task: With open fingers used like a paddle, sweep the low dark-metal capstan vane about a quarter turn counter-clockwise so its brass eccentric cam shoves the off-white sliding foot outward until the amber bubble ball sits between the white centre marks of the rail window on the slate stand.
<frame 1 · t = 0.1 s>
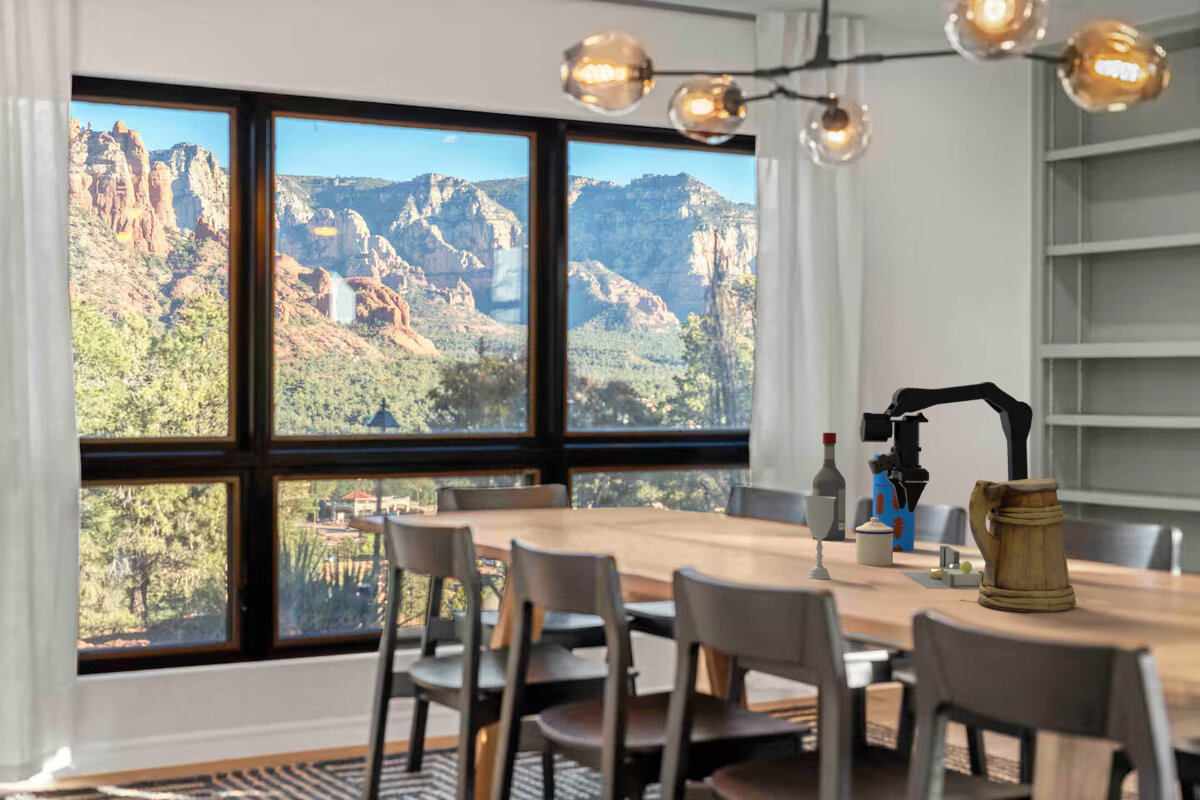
hand: (906, 510, 322), 15 cm above the table, fingers open, 9 cm apart
chalice: (819, 578, 315), on the table
thermos: (893, 549, 373), on the table
tankard: (1016, 607, 274), on the table
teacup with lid: (871, 566, 337), on the table
cam capstan: (944, 562, 315), point 4 cm above the table, hinge at 0.0°
liquor: (828, 539, 398), on the table
level stand: (959, 582, 309), on the table
cam foot: (962, 571, 301), point 3 cm above the table, slide at 0.0 cm
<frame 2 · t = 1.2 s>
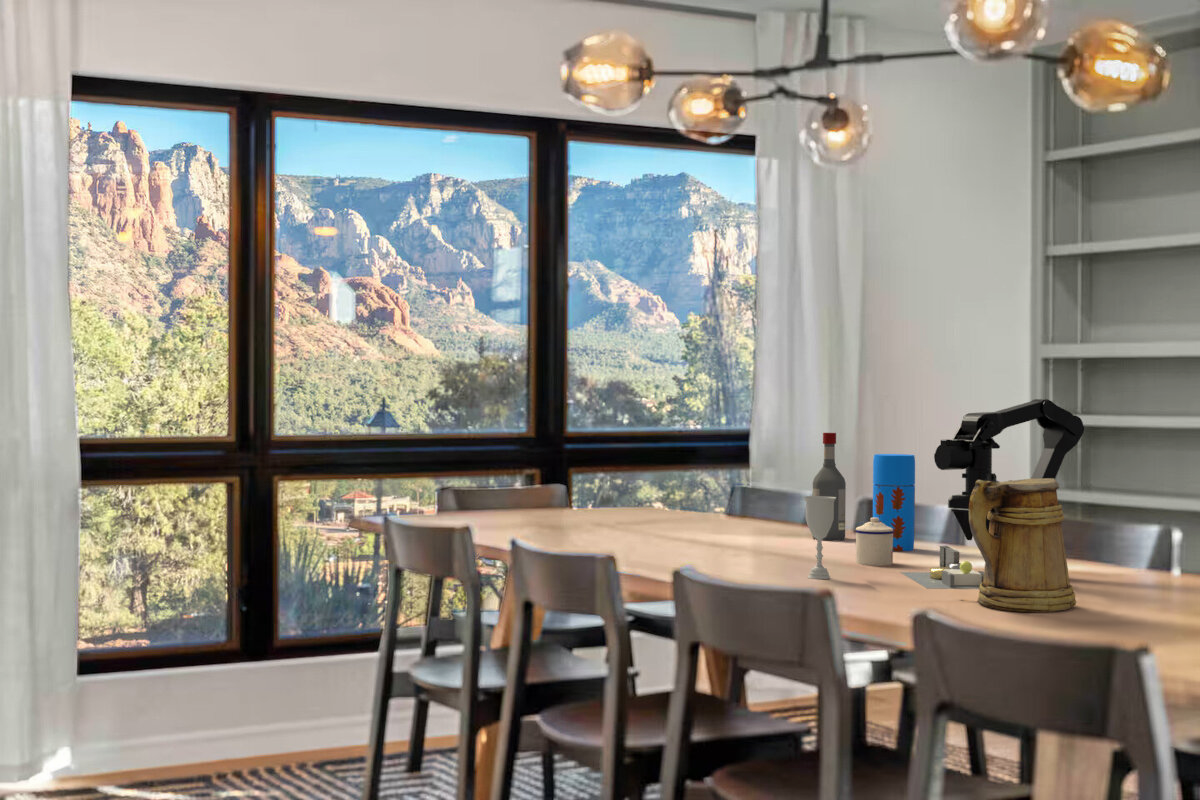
hand: (978, 538, 316), 9 cm above the table, fingers open, 9 cm apart
nothing on the table moved.
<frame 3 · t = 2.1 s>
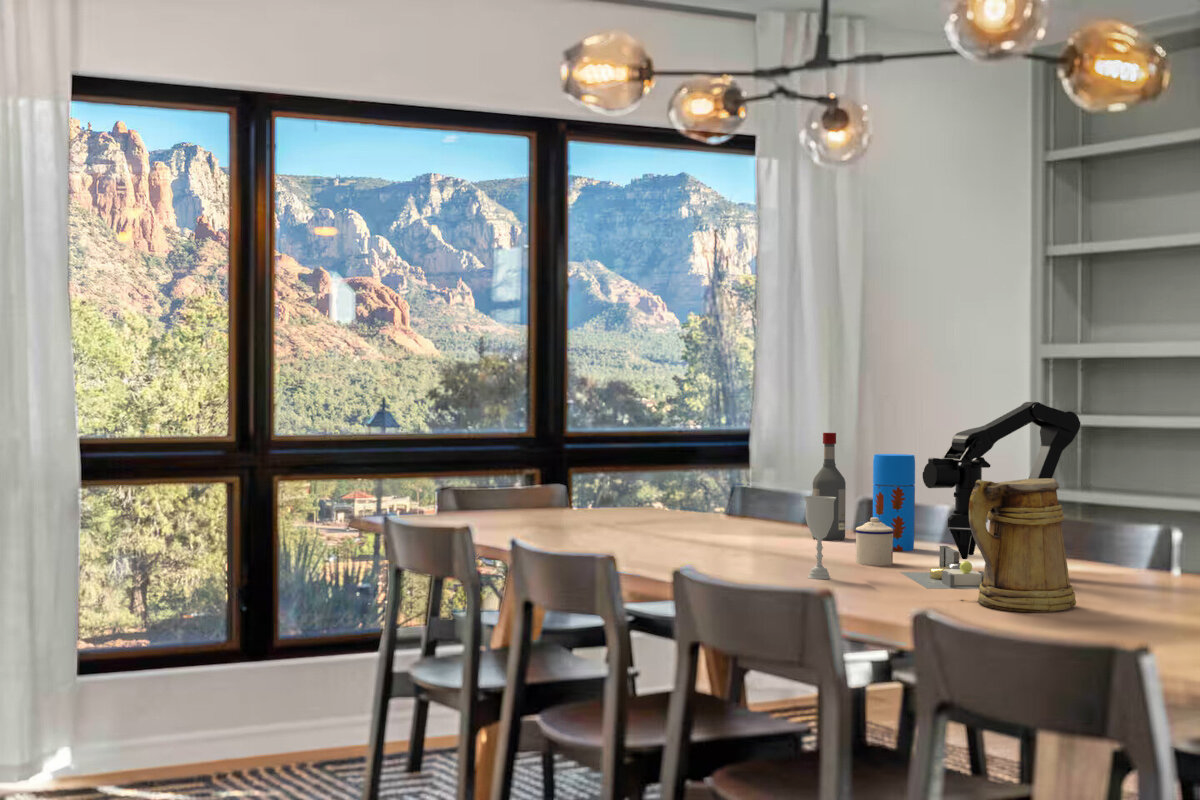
hand: (967, 557, 317), 5 cm above the table, fingers open, 9 cm apart
cam capstan: (944, 562, 315), point 4 cm above the table, hinge at 0.1°, touching gripper
everything else where it was.
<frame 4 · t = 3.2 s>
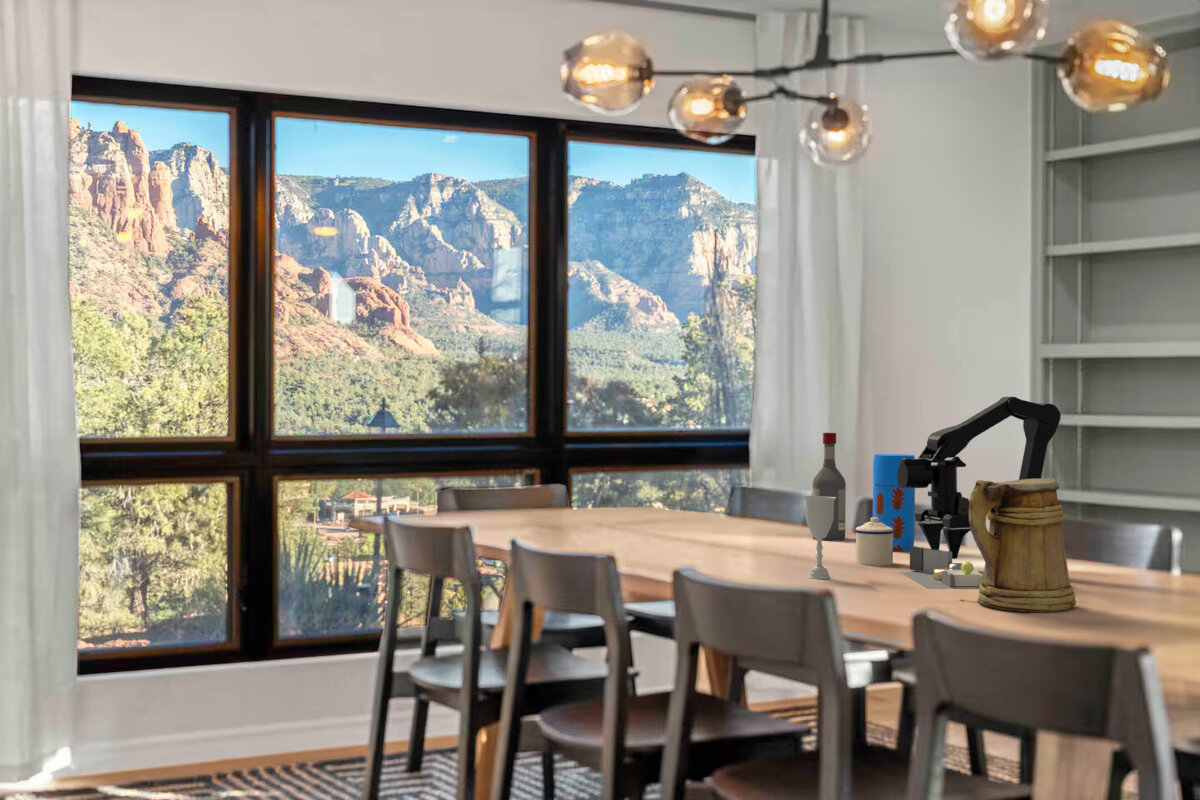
hand: (944, 556, 318), 5 cm above the table, fingers open, 9 cm apart
cam capstan: (934, 563, 313), point 4 cm above the table, hinge at 30.3°, touching gripper
cam foot: (964, 571, 300), point 3 cm above the table, slide at 1.1 cm
everything else where it was.
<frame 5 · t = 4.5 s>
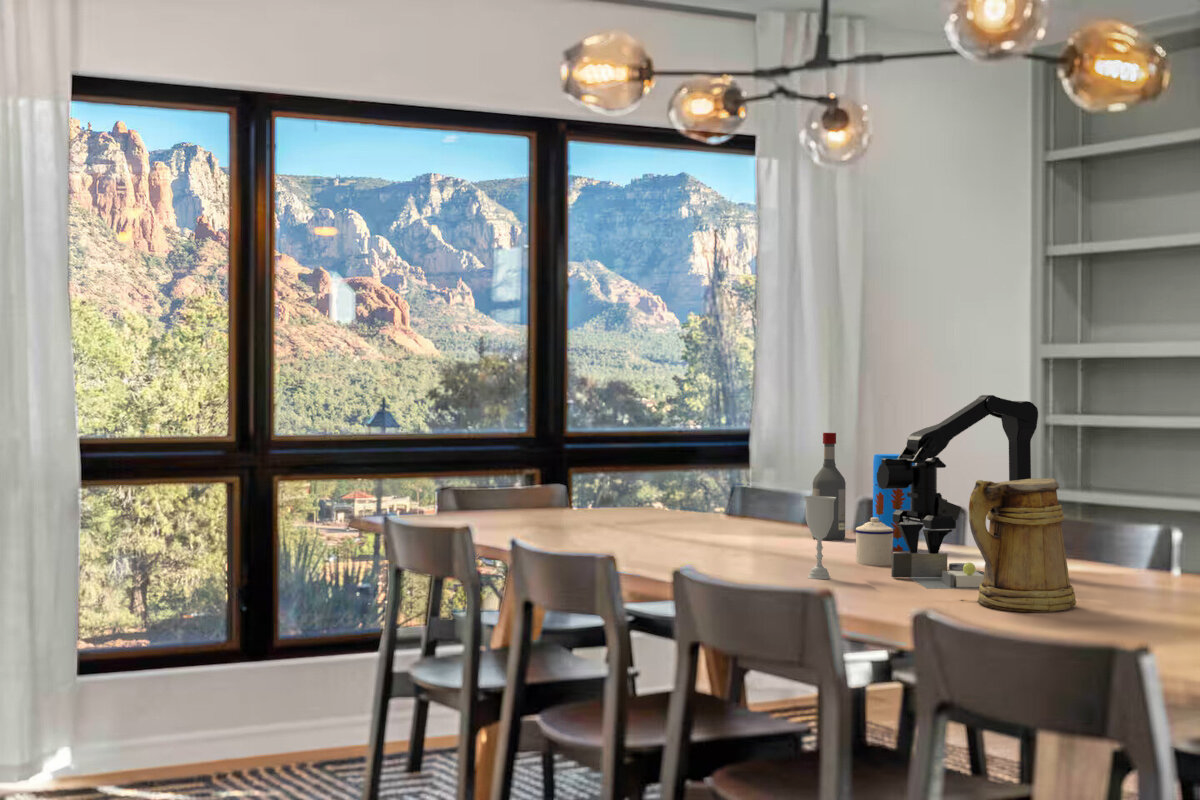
hand: (923, 557, 315), 5 cm above the table, fingers open, 8 cm apart
cam capstan: (936, 566, 307), point 4 cm above the table, hinge at 92.2°, touching gripper
cam foot: (965, 572, 299), point 3 cm above the table, slide at 2.6 cm
everything else where it was.
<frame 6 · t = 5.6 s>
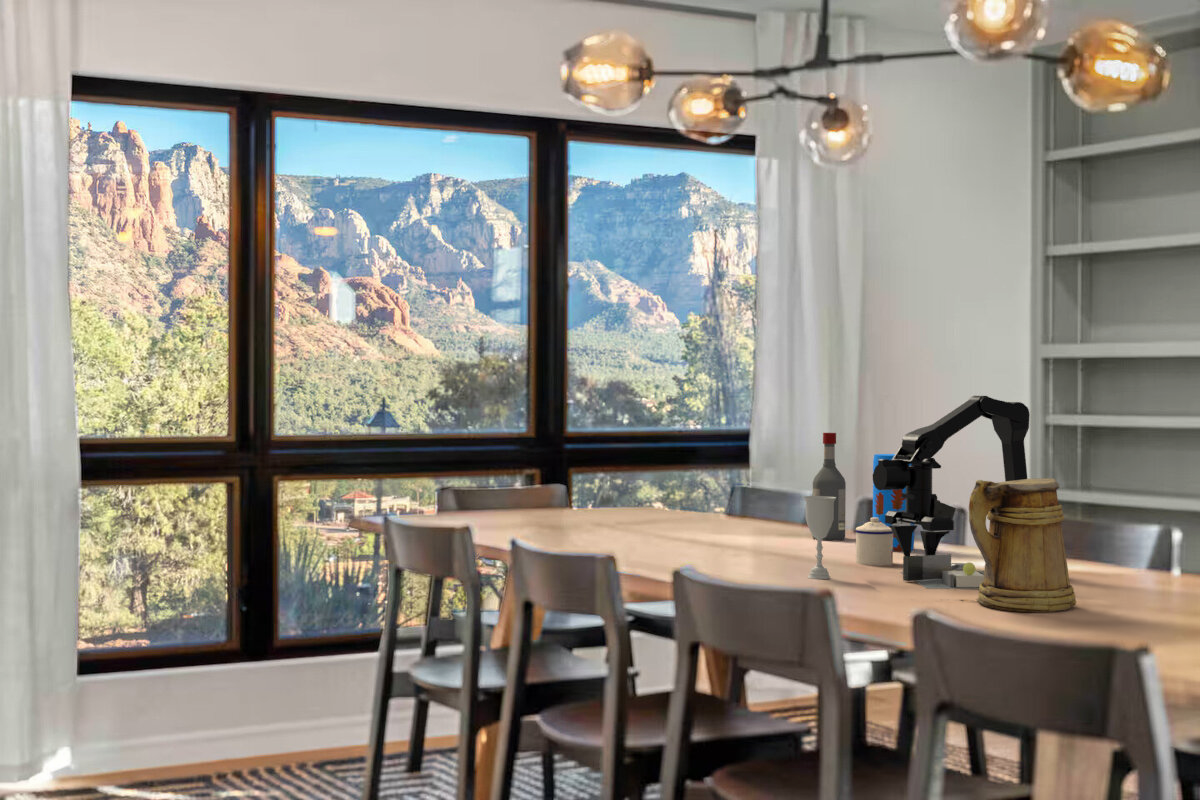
hand: (918, 559, 312), 5 cm above the table, fingers open, 8 cm apart
cam capstan: (945, 568, 305), point 4 cm above the table, hinge at 116.2°, touching gripper
everything else where it was.
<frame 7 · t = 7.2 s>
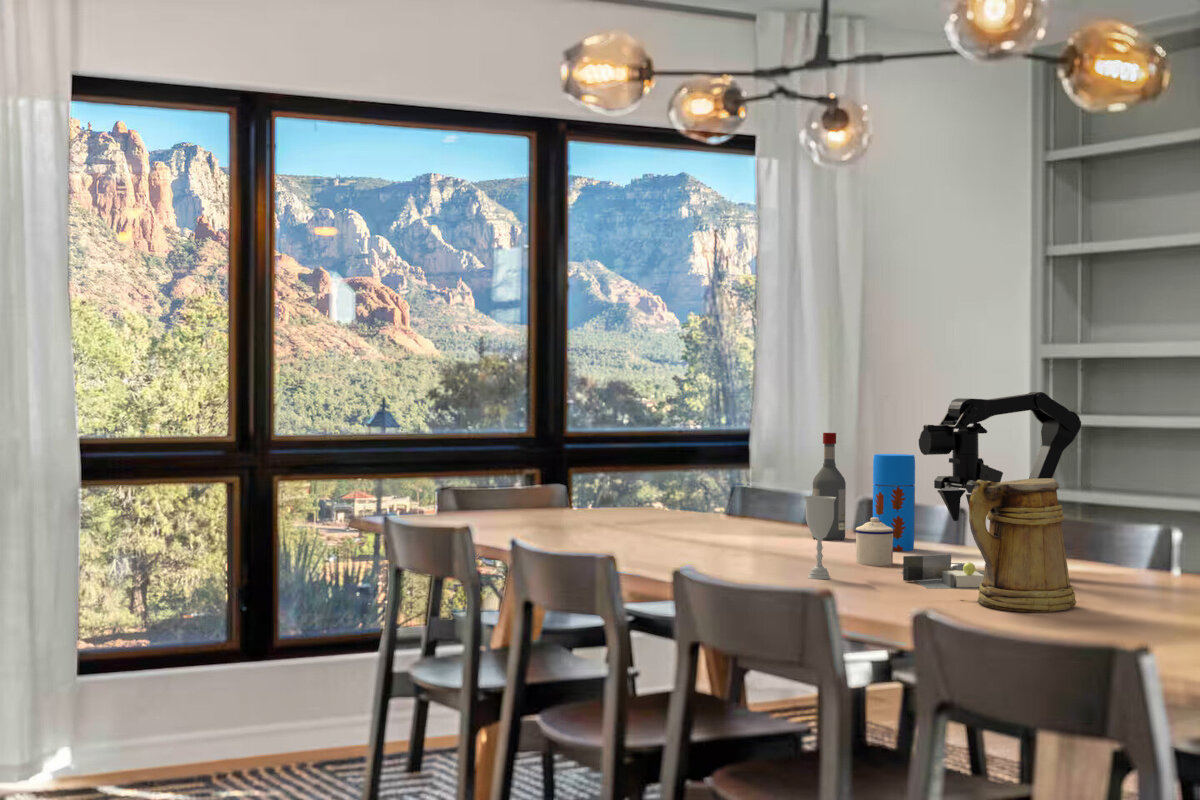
hand: (966, 522, 318), 12 cm above the table, fingers open, 9 cm apart
cam capstan: (945, 568, 305), point 4 cm above the table, hinge at 116.3°
everything else where it was.
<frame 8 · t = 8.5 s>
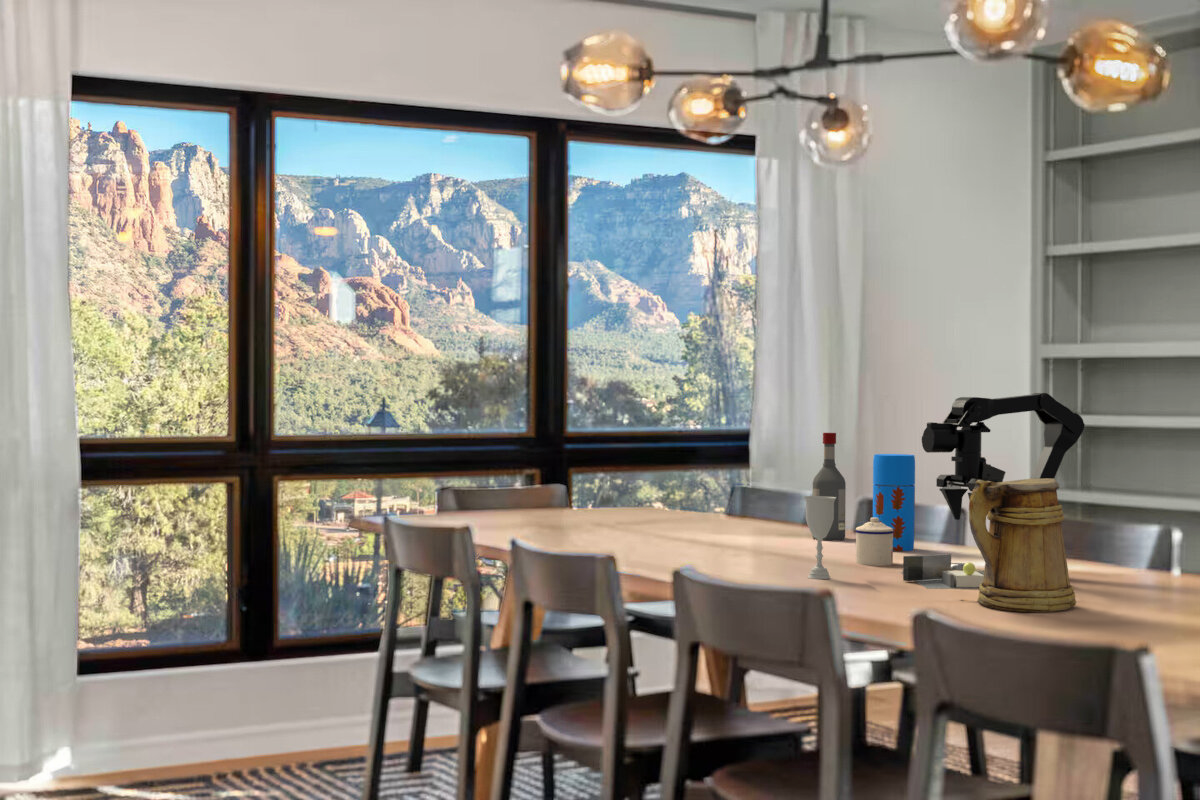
hand: (967, 521, 318), 13 cm above the table, fingers open, 9 cm apart
nothing on the table moved.
at the end: cam capstan at +116° (first picture: +0°); cam foot slide at 2.6 cm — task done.
